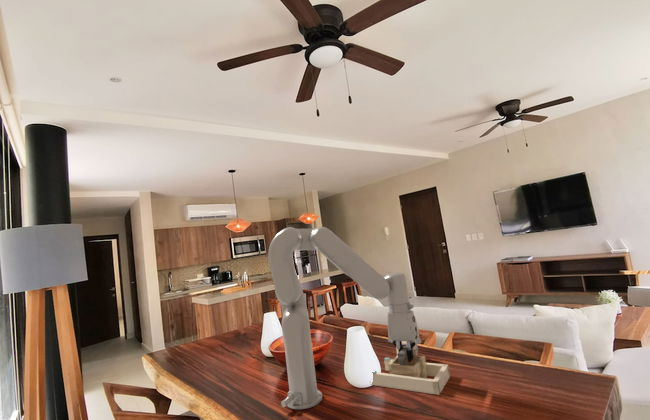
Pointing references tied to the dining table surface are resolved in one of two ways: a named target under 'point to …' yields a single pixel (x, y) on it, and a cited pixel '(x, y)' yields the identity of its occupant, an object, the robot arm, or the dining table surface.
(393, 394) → the dining table surface
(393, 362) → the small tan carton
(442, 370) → the bay
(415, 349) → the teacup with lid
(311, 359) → the robot arm
